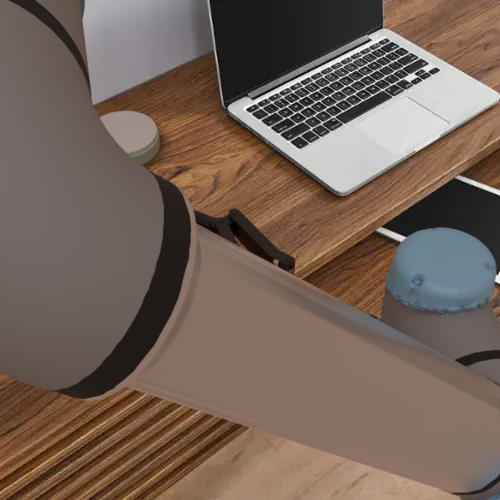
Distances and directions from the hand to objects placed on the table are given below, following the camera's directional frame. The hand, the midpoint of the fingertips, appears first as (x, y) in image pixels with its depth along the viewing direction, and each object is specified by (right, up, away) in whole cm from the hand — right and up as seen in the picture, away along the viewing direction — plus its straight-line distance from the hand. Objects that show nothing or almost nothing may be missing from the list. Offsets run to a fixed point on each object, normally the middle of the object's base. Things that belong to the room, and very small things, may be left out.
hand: (118, 252), depth 76 cm
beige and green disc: (-3, +14, +22) cm, 26 cm away
